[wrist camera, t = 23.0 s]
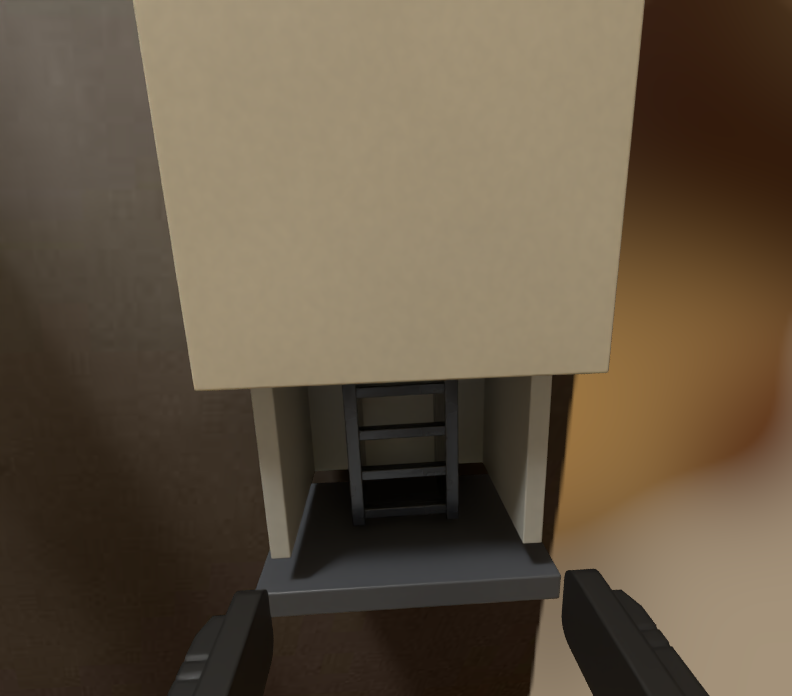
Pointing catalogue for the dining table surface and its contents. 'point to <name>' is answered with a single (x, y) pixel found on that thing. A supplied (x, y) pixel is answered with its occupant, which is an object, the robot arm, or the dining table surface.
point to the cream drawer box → (392, 184)
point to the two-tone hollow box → (405, 535)
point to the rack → (440, 429)
